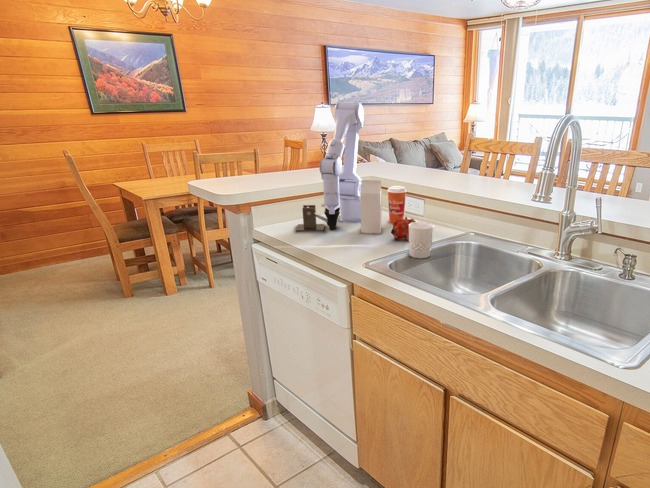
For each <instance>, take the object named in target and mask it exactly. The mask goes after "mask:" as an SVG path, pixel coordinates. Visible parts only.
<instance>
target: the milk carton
mask: <svg viewBox="0 0 650 488" xmlns="http://www.w3.org/2000/svg"><path fill="white" fill-rule="evenodd" d="M360 198H361V221H360V233H362V234H363V233H364V234H381V232H382V180H381V179H380V180H379V179H362V180H361V196H360Z"/></svg>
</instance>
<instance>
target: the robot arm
mask: <svg viewBox="0 0 650 488" xmlns="http://www.w3.org/2000/svg"><path fill="white" fill-rule="evenodd" d="M334 117H335V120H336V122H335V128H334V134H333V138H332V139H331V140H329V142H328V145H327V148H326V152H325V155H324V158H323V159H321V160H320V162H319V167H318V168H319V169H318V170H319V173H320V176H321V180H322V184H323V185H322V186H323V203H321V204H320V206H321V208H324V212H323V213H324V215H325V218H326V219H327V220H328V223H329V226H328V227H329V228H328V229H329V230H330V231H336V230H337V224H338V220H339V222H361V180H363V179H362V178H361V177H360V176H359V175H358V173H357V162H358V151H359V150H358V149H359V138H360V130H361V129H362V128H363V127H364V120H365V110H364V106H363V105H362V103H360V102H358V103H353V102H352V103H351V102H350V103H349V102H336V104H335V106H334ZM344 140H345V143H343V142H344ZM343 154H344V157H343ZM342 158H343V161H342ZM342 164H343V168H342ZM342 169H343V170H342ZM338 218H339V219H338Z"/></svg>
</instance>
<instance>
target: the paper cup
mask: <svg viewBox="0 0 650 488" xmlns="http://www.w3.org/2000/svg"><path fill="white" fill-rule="evenodd" d="M407 192H408V190H407V189H406V186H402V185H391V186H389V187H388V188H387V199H388V217H389V219H388V220H389V223H390V224H392V225H393V223H394V222H396V221H398V220H399V219H405V207H406V197H407V196H406V195H407Z"/></svg>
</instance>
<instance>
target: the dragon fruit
mask: <svg viewBox="0 0 650 488" xmlns="http://www.w3.org/2000/svg"><path fill="white" fill-rule="evenodd" d="M413 222H417V221H416V220H415V219H414V218H412V217H411V218H408V217H407V216H404V219H399V220H398V221H396V222H394V223H393V224H392V229H391V230H390V234H391V235H392V236H394V237H393V239H394V240H395V241H396V240H397V241H401V240H404V239H405V240H406V242H407V241H408V242H409V224H410V223H413Z"/></svg>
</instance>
